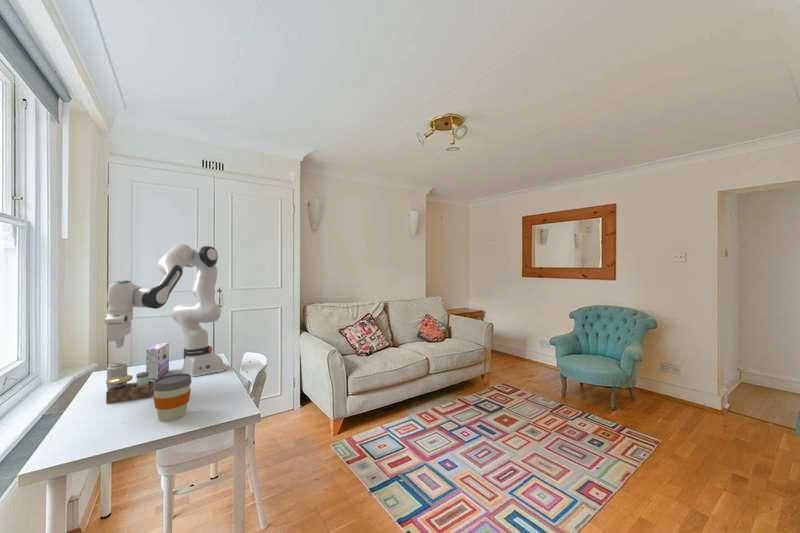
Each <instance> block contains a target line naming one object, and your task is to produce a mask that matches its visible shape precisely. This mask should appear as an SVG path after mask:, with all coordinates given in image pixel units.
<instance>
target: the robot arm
mask: <svg viewBox="0 0 800 533" xmlns="http://www.w3.org/2000/svg"><path fill="white" fill-rule="evenodd" d="M218 258H219V256H218V251H217V249H216V248H215V247H213V246H209V245H204V246H196V247H193V248H191V247H190V246H189V245H188V244H185V243H179V244H176V245H175V246H173V247H172V248H170V249H169V250H168V251H166V253H164V254H163V255H161V257H160V258H159V260H158V262H157V266H158V269H159V271H161V273H163V274H164V277H163V278H162V280H161V281H159V284H157V285H156V286H152V287H151V286H150V287H149V286H147V287H145V286H140V285H136V284H135V283H133V281H131V280H117V281H113V282H112V283H110V284H109V286H108V289H107V293H106V294H107V298H106V299H107V301H106V302H107V304H108V306H107V310H106V317H105V318H104V324H105V325H106V329H105V330H106V331H105V332H106V339H107V341H108V342H115V345H116V348H117V349H120V348H122V347H124V343H125V338H126V336H128V335H129V334H131V332H132V320H134V308H147V309H154V310H155V309H160V308H163V306H165V304H167V302H168V299H169V297H170V295H171V293H172V291H173V290H174V289H175V287H176V286H177V284H178V282H179V281H180V279H181V278H182V276H183V273H184V268H185V267H188V268H193V267H195V268H196V274H195V277H194V280H193V284H192V287H191V294H192V295H193V296H194V297H195V298H197V302H195V303H191V302H188V303H187V302H185V303H180V304H177V305H175V306H174V307H173V308H172V311H171V317H172V319H173V320H174V321H175V323H178V325H179V326H180V327H181V329H182V332H183V337H184V348H183V365H182V369H181V372H180V374H190V375H191V378H192V377H193V378H196V377H202V376H206V375H205V374H207V375H211V374H210V373H213V374H216V373H215V372H218V373H222V372H221V371H223V372H225V371H227V369H228V366H227V364H225V363H224V361H223V358H222V357H221V356H220V355H218V354H216V353H215V352H213V346H211V345H209V333H208V331H207V330H206V329H204V328H203V327H202V325H200V324H201V323H202V324H208V323H213V322H217V321H218V320H219V319H220V318H221V314H222V310H221V307H220V305H218V304H217V303H216V301H215V298H214V292H215V288H216V285H217V284H216V283H217V279H218V267H217V266H216V264H217V263H218V262H217V261H218ZM224 370H225V371H224ZM201 375H202V376H201ZM195 376H196V377H195Z"/></svg>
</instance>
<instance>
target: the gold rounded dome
mask: <svg viewBox="0 0 800 533" xmlns="http://www.w3.org/2000/svg"><path fill="white" fill-rule="evenodd" d="M133 377H134V376H133V375H131V374H127V375H123V376H117V377H113V378H109V379H107V378H106V380H105V384H106V385H107V384H115V389H120V388H124V382H127V383H128V382H130V381H132V380H133Z"/></svg>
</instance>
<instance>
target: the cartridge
mask: <svg viewBox="0 0 800 533" xmlns="http://www.w3.org/2000/svg"><path fill="white" fill-rule="evenodd" d="M135 377H136V382H137V387H140V386H147V385H149V381H150V380H149V372H146V371H142V372H139V373H137V374H136V376H135Z"/></svg>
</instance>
